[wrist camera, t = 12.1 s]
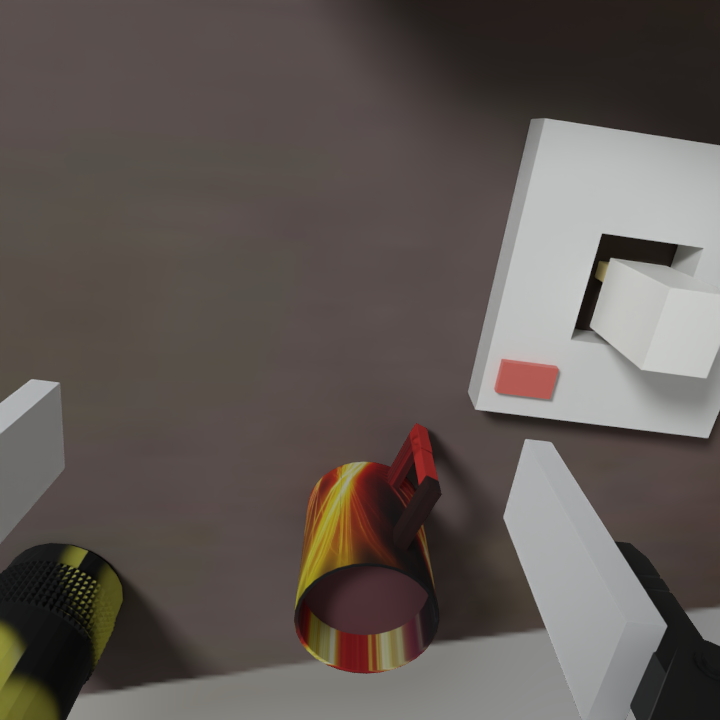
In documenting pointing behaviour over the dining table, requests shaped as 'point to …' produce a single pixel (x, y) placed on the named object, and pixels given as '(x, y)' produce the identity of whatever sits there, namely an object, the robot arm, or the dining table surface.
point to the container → (52, 628)
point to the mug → (369, 563)
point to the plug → (658, 317)
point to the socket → (572, 270)
